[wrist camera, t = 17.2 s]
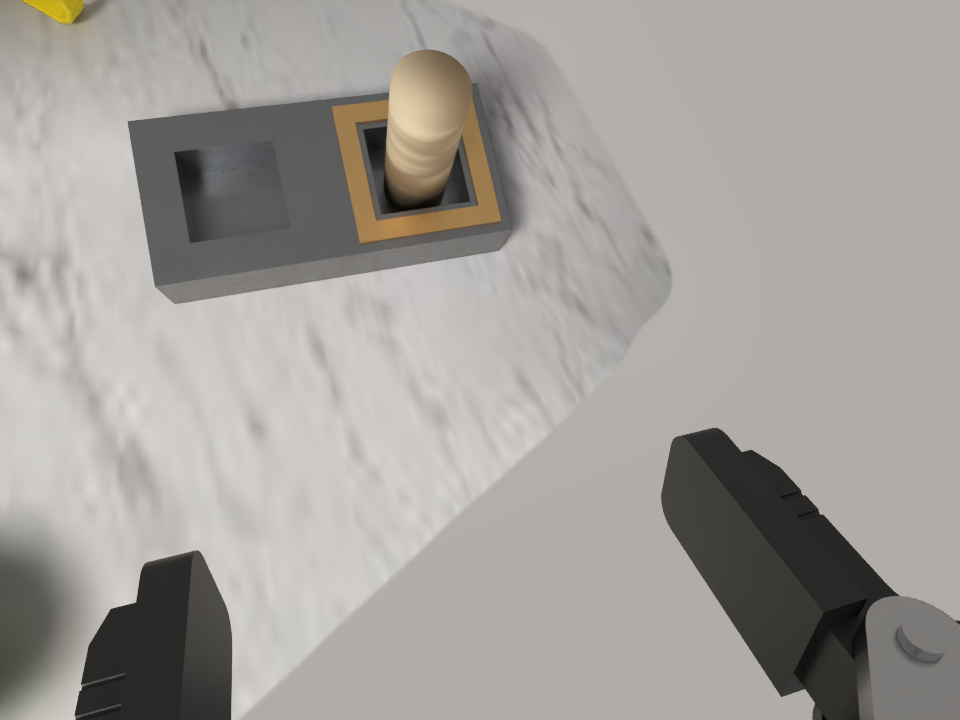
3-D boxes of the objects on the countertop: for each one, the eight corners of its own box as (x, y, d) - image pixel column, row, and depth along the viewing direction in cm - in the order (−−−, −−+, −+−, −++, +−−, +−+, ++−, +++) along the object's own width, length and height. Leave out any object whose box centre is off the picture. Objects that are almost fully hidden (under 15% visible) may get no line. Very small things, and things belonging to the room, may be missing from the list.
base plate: (175, 304, 40) (153, 285, 36) (149, 153, 42) (126, 119, 37) (499, 250, 45) (512, 228, 41) (467, 115, 46) (477, 81, 42)
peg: (391, 220, 43) (400, 132, 31) (377, 163, 43) (381, 54, 31) (450, 210, 43) (481, 120, 32) (436, 154, 44) (462, 45, 32)
